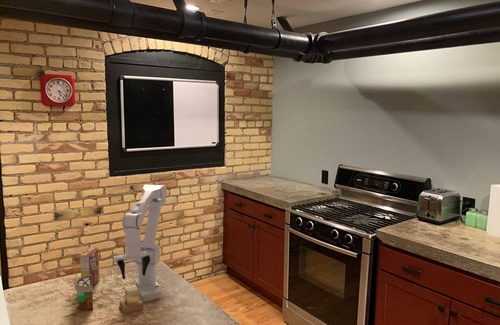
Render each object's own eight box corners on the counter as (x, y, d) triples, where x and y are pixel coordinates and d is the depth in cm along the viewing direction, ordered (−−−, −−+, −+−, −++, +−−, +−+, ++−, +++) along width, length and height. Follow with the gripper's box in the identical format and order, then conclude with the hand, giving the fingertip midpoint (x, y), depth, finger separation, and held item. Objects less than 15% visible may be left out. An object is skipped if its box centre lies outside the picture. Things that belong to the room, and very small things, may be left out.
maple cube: (125, 299, 145) (125, 287, 144) (135, 297, 147) (135, 285, 146) (127, 304, 142) (127, 291, 141) (138, 301, 144) (138, 289, 143)
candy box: (90, 280, 167) (89, 247, 165) (100, 280, 167) (99, 247, 165) (80, 289, 158) (79, 254, 156) (90, 289, 158) (89, 255, 156)
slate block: (137, 295, 155) (137, 288, 154) (154, 291, 158) (154, 284, 158) (142, 302, 149) (142, 295, 148) (159, 298, 152) (159, 291, 152)
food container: (75, 299, 149) (75, 275, 148) (92, 297, 152) (91, 273, 151) (75, 315, 138) (74, 289, 137) (93, 312, 141) (92, 286, 139)
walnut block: (119, 306, 146) (119, 299, 145) (137, 302, 149) (137, 295, 149) (124, 314, 140) (123, 307, 139) (142, 310, 143) (142, 302, 143)
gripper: (115, 249, 140) (116, 284, 142) (154, 243, 147) (154, 277, 149) (112, 243, 146) (113, 277, 148) (149, 238, 153) (150, 270, 155)
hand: (133, 276), depth 149 cm, fingers open, 7 cm apart
